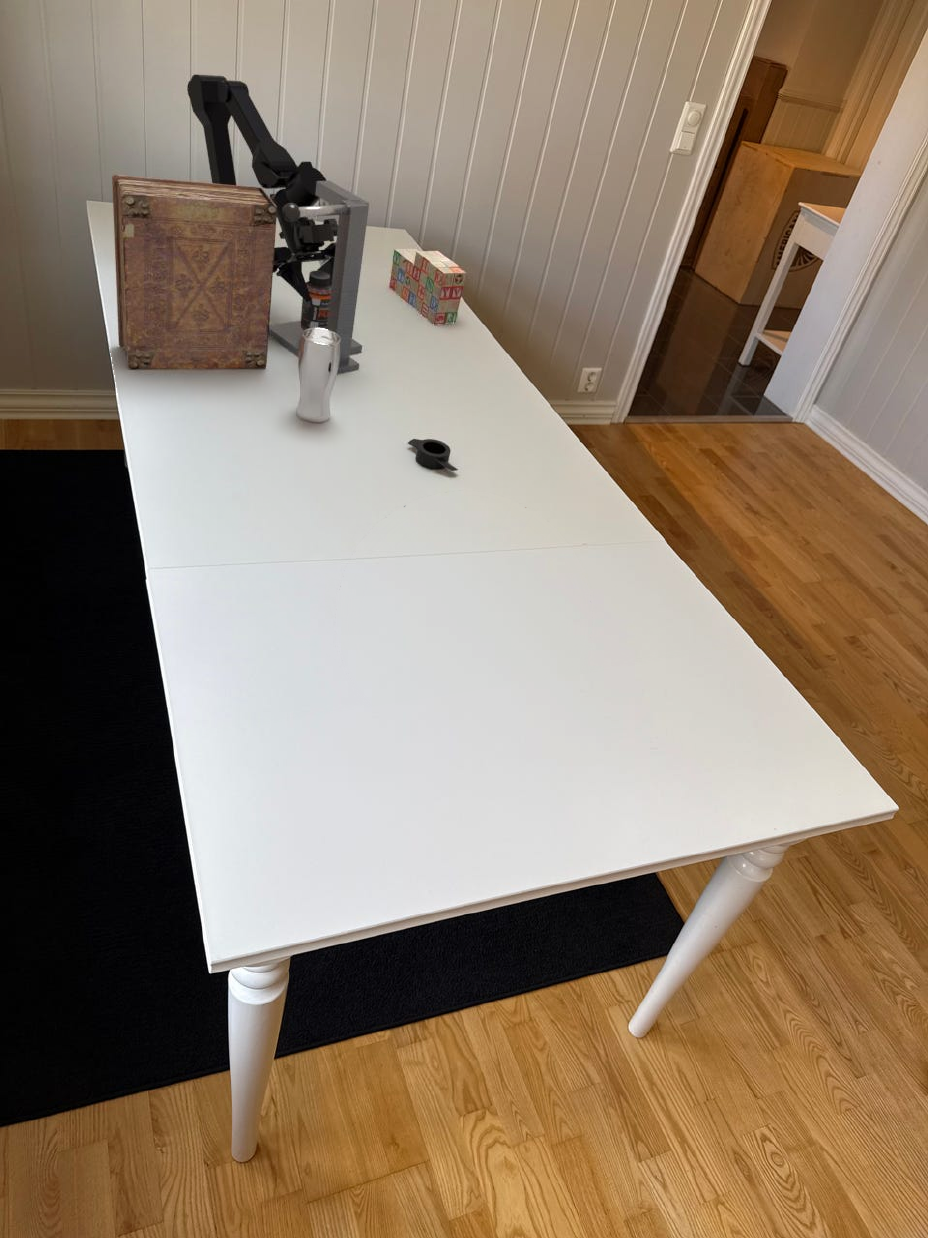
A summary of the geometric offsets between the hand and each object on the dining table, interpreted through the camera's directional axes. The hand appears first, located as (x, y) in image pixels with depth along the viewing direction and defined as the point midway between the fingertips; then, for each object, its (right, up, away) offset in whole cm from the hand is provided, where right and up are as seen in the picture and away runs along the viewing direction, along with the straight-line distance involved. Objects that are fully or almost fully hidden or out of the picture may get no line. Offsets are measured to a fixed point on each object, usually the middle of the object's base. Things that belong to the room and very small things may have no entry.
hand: (321, 299), depth 174 cm
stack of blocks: (+18, +11, +34) cm, 40 cm away
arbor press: (-4, -10, +2) cm, 11 cm away
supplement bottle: (-2, -4, +5) cm, 7 cm away
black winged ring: (+22, -36, -19) cm, 46 cm away
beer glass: (+1, -27, -16) cm, 31 cm away
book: (-23, -14, -9) cm, 28 cm away
